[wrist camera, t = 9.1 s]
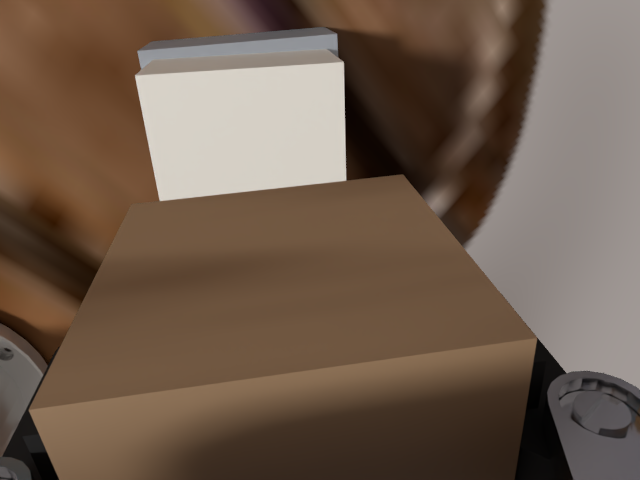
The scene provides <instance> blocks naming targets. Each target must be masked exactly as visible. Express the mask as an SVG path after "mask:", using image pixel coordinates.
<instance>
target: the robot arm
mask: <svg viewBox="0 0 640 480" xmlns="http://www.w3.org/2000/svg"><path fill="white" fill-rule="evenodd" d="M502 296H503V295H502ZM506 301H507V300H506ZM507 302H508V301H507ZM511 307H512V306H511ZM515 312H516V311H515ZM516 313H517V312H516ZM520 318H521V317H520ZM525 324H526V323H525ZM529 329H530V328H529ZM530 330H531V329H530ZM59 348H60V347H58V349H57V350H56V351H55V353H54V355H53V357H52V359H51V361H50V363H49V365H47V364H46V362H45V361H44V359H43V358H42V356H41V355H40V354H39V353H38V352H37V351H36V350H35V349H34V348H33V347H32V346H31V345H30V344H29V343H28V342H27V341H26V340H25V339H24V338H22V337H21V336H19V335H18V334H17V333H15V332H14V331H12V330H11V329H10V328H8V327H6V326H5V325H3V324H1V323H0V480H59V478H58V476H57V473H56V471H55V469H54V467H53V464H52V462H51V460H50V458H49V455H48V453H47V451H46V449H45V446H44V444H43V442H42V439H41V437H40V435H39V433H38V430H37V428H36V426H35V424H34V421H33V419H32V417H31V415H30V412H29V408H30V406H31V404H32V402H33V400H34V398H35V396H36V394H37V392H38V390H39V388H40V386H41V384H42V382H43V380H44V378H45V376H46V374H47V372H48V370H49V368H50V366H51V364H52V362H53V360H54V358H55V356H56V354H57V352H58V350H59ZM515 480H640V390H639V389H638V388H637V387H635V386H633V385H632V384H629V383H628V382H626V381H624V380H622V379H619V378H617V377H614V376H611V375H607V374H604V373H598V372H591V371H575V372H570V373H566V372H565V371H564V370H563V368H562V367H561V366H560V365H559V364H558V362H557V361H556V360H555V359H554V357H553V356H552V355H551V354H550V353H549V351H548V350H547V349H546V348H545V347H544V345H543V344H542V343H541V342H540V341H539V339H538V338H537V343H536V349H535V355H534V362H533V368H532V374H531V380H530V387H529V393H528V399H527V405H526V412H525V418H524V424H523V430H522V437H521V443H520V449H519V455H518V462H517V468H516V474H515Z"/></svg>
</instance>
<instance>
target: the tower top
mask: <svg viewBox="0 0 640 480" xmlns="http://www.w3.org/2000/svg"><path fill="white" fill-rule="evenodd" d="M135 78H136V83H137V88H138V93H139V98H140V103H141V108H142V113H143V119H144V124H145V129H146V134H147V139H148V144H149V149H150V154H151V159H152V164H153V169H154V174H155V179H156V184H157V189H158V194H159V199H160V201H166V200H175V199H184V198H193V197H202V196H211V195H220V194H229V193H239V192H248V191H257V190H266V189H275V188H284V187H293V186H302V185H311V184H320V183H330V182H339V181H346V143H345V93H344V62H343V61H342V60H340V59H339V58H338V57H337V56H335V55H334V54H333V53H331V52H330V51H329V50H327V49H317V50H300V51H284V52H268V53H251V54H235V55H219V56H202V57H186V58H170V59H154V60H152V61H151V62H150V63H149V64H148V65H146V66H145V67H144V68H143V69H142V70H141V71H140V72H138V73H137V74H136V75H135Z"/></svg>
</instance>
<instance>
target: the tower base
mask: <svg viewBox="0 0 640 480" xmlns="http://www.w3.org/2000/svg"><path fill="white" fill-rule="evenodd" d="M317 49H327V50H329V51H330V52H331V53H333V54H334V55H335V56H337V57H338V42H337V34H336V33H335V32H333V31H331V30H329V29H327V28H325V27H318V28H307V29H295V30H283V31H271V32H259V33H248V34H236V35H224V36H212V37H200V38H188V39H177V40H165V41H153V42H150V43H149V44H147V45H146V46H144V47H143V48H141V49H140V50H138V56H139V61H140V65H141V70H142V69H143V68H144V67H145V66H146V65H148V64H149V63H150V62H151V61H152V60H154V59H170V58H186V57H202V56H219V55H235V54H251V53H268V52H284V51H300V50H317Z"/></svg>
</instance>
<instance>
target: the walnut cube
mask: <svg viewBox="0 0 640 480" xmlns="http://www.w3.org/2000/svg"><path fill="white" fill-rule="evenodd" d="M536 343H537V337H536V336H535V335H534V333H533V332H532V331H531V330H530V329H529V327H528V326H527V325H526V324H525V322H524V321H523V320H522V319H521V318H520V316H519V315H518V314H517V313H516V312H515V310H514V309H513V308H512V307H511V305H510V304H509V303H508V302H507V301H506V299H505V298H504V297H503V296H502V294H501V293H500V292H499V291H498V290H497V288H496V287H495V286H494V285H493V284H492V282H491V281H490V280H489V279H488V277H487V276H486V275H485V274H484V273H483V271H482V270H481V269H480V268H479V267H478V265H477V264H476V263H475V262H474V260H473V259H472V258H471V257H470V256H469V254H468V253H467V252H466V251H465V249H464V248H463V247H462V246H461V245H460V243H459V242H458V241H457V240H456V238H455V237H454V236H453V235H452V234H451V232H450V231H449V230H448V229H447V228H446V226H445V225H444V224H443V223H442V221H441V220H440V219H439V218H438V217H437V215H436V214H435V213H434V212H433V210H432V209H431V208H430V207H429V206H428V204H427V203H426V202H425V201H424V200H423V198H422V197H421V196H420V195H419V193H418V192H417V191H416V190H415V189H414V187H413V186H412V185H411V184H410V182H409V181H408V180H407V179H406V178H405V176H404V175H403V174H402V175H393V176H384V177H375V178H366V179H357V180H348V181H339V182H330V183H320V184H311V185H302V186H293V187H284V188H275V189H266V190H257V191H248V192H239V193H229V194H220V195H211V196H202V197H193V198H184V199H175V200H166V201H157V202H147V203H138V204H131V206H130V208H129V210H128V212H127V214H126V216H125V218H124V220H123V222H122V224H121V226H120V228H119V230H118V232H117V234H116V236H115V238H114V240H113V242H112V244H111V246H110V248H109V250H108V252H107V254H106V256H105V258H104V260H103V262H102V264H101V266H100V268H99V270H98V272H97V274H96V276H95V278H94V280H93V282H92V284H91V286H90V288H89V290H88V292H87V294H86V296H85V298H84V300H83V302H82V304H81V306H80V308H79V310H78V312H77V314H76V316H75V318H74V320H73V322H72V324H71V326H70V328H69V330H68V332H67V334H66V336H65V338H64V340H63V342H62V344H61V346H60V348H59V350H58V352H57V354H56V356H55V358H54V360H53V362H52V364H51V366H50V368H49V370H48V372H47V374H46V376H45V378H44V380H43V382H42V384H41V386H40V388H39V390H38V392H37V394H36V396H35V398H34V400H33V402H32V404H31V406H30V408H29V412H30V415H31V417H32V419H33V421H34V424H35V426H36V428H37V430H38V433H39V435H40V437H41V439H42V442H43V444H44V446H45V449H46V451H47V453H48V455H49V458H50V460H51V462H52V464H53V467H54V469H55V471H56V473H57V476H58V478H59V480H515V474H516V468H517V462H518V455H519V449H520V443H521V437H522V430H523V424H524V418H525V412H526V405H527V399H528V393H529V387H530V380H531V374H532V368H533V362H534V355H535V349H536Z"/></svg>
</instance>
